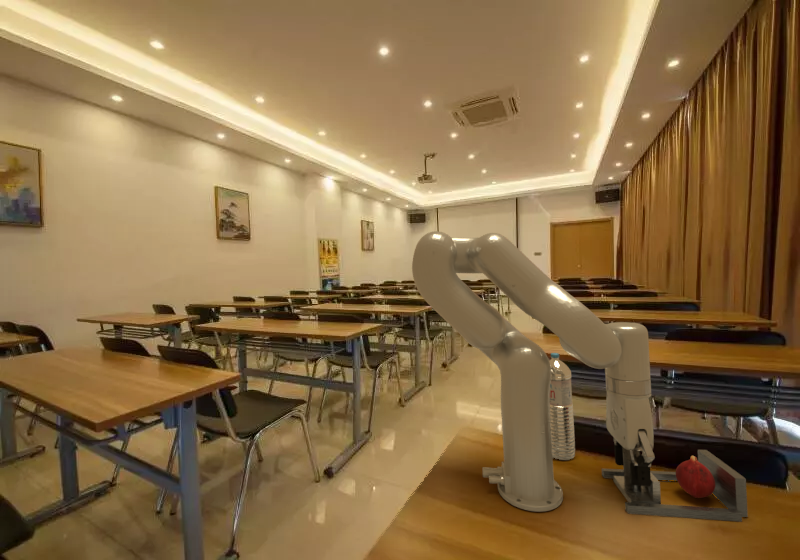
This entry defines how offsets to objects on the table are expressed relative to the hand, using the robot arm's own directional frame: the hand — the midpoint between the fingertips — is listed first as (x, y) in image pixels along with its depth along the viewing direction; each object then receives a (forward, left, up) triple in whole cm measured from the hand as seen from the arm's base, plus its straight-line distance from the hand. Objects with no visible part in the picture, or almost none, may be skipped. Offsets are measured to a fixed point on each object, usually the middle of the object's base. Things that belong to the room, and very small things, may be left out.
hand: (632, 473), depth 68 cm
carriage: (0, 0, -4) cm, 4 cm away
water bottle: (-10, +14, -4) cm, 18 cm away
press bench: (+6, 0, -4) cm, 8 cm away
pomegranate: (+11, 0, -4) cm, 12 cm away
